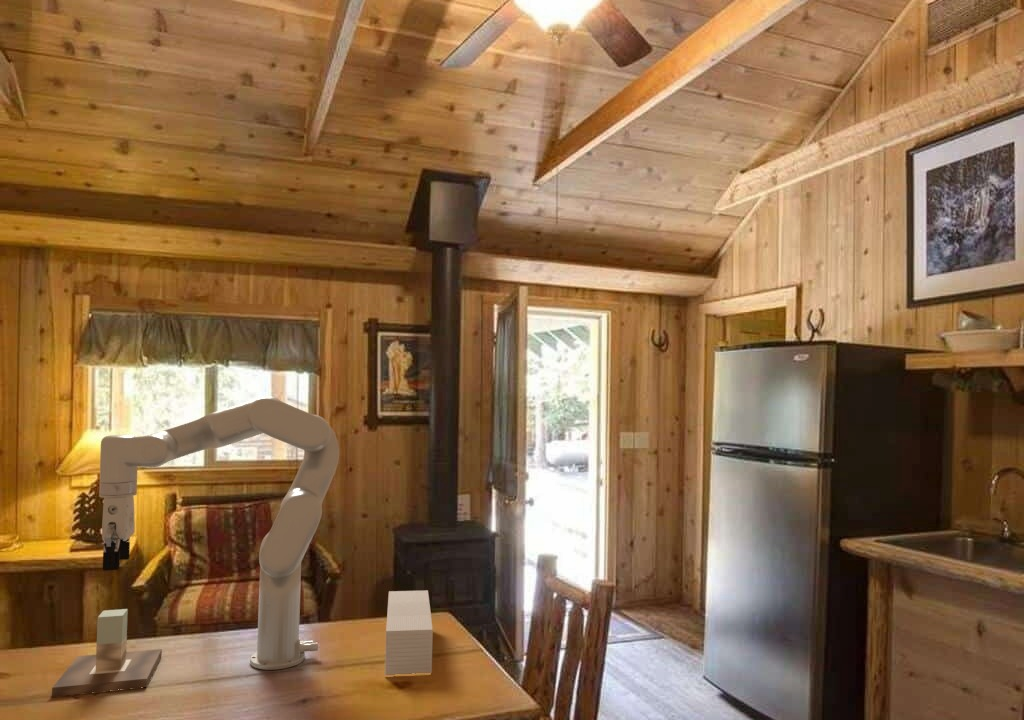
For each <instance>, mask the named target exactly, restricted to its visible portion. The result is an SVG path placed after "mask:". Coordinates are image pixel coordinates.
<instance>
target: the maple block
mask: <svg viewBox="0 0 1024 720" xmlns="http://www.w3.org/2000/svg"><path fill="white" fill-rule="evenodd" d="M127 639H128V635H126V637H125V638H124V640H123V641H122V643H111V644H99V645H97V644H96V647H95V648H96V649H95V650H96V651H95V655H96V670H95V672H101V671H112V670H121V668H122V667H123V665H124V664H125V662H126V652H127V642H128V641H127Z"/></svg>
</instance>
